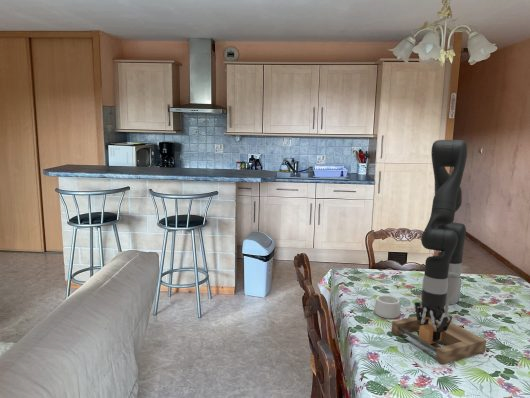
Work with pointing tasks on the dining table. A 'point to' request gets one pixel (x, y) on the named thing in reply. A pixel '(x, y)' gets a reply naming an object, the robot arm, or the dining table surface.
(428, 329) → the tall cardboard carton
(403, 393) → the dining table surface
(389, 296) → the mug
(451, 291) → the chalice
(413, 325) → the shelf
